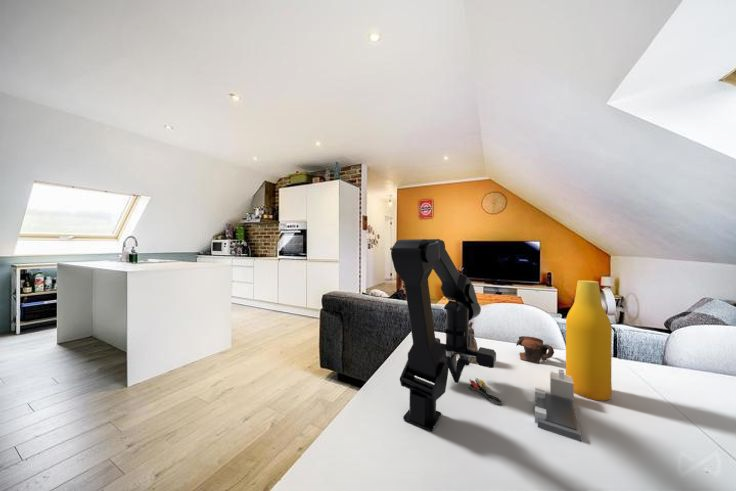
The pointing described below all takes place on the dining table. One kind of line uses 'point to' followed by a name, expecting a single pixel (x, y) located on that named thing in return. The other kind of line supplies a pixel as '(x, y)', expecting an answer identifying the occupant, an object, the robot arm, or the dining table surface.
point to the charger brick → (561, 385)
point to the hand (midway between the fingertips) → (456, 382)
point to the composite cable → (483, 390)
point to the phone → (556, 415)
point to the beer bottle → (589, 343)
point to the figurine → (473, 342)
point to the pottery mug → (534, 349)
